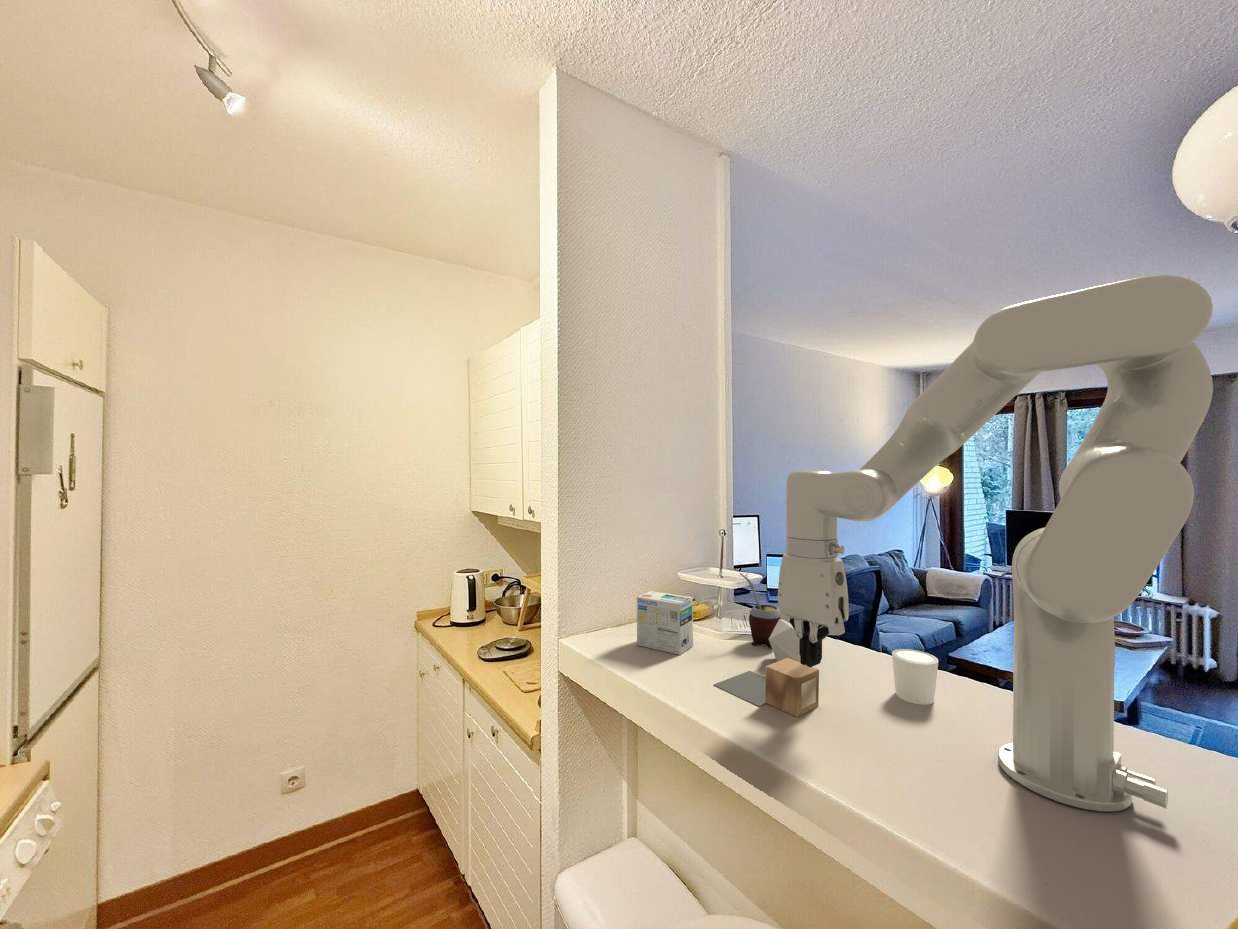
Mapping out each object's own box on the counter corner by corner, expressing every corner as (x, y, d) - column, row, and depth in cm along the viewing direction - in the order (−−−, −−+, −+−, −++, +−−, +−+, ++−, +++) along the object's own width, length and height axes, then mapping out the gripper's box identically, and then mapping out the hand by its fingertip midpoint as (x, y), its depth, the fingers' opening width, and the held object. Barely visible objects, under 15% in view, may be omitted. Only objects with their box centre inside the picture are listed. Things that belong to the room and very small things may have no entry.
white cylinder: (943, 709, 82) (943, 666, 81) (895, 703, 84) (895, 660, 84) (932, 691, 88) (932, 651, 88) (888, 685, 90) (888, 646, 90)
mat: (795, 690, 88) (795, 689, 88) (759, 707, 82) (759, 706, 82) (749, 671, 96) (749, 670, 96) (713, 685, 90) (713, 684, 90)
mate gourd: (788, 648, 108) (789, 578, 108) (755, 651, 106) (755, 580, 106) (770, 636, 115) (770, 570, 115) (738, 639, 113) (739, 572, 113)
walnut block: (819, 669, 82) (787, 657, 87) (798, 679, 79) (765, 666, 84) (818, 706, 83) (786, 692, 87) (797, 717, 79) (764, 702, 84)
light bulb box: (694, 646, 110) (694, 596, 109) (680, 656, 104) (680, 603, 104) (650, 636, 115) (650, 589, 115) (635, 646, 109) (635, 596, 109)
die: (819, 662, 102) (793, 615, 107) (832, 655, 94) (803, 605, 99) (781, 679, 101) (757, 631, 106) (791, 674, 94) (764, 622, 98)
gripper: (869, 552, 77) (869, 673, 77) (784, 540, 89) (784, 645, 89) (843, 558, 72) (842, 687, 72) (757, 544, 84) (757, 654, 84)
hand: (810, 663), depth 80 cm, fingers closed
